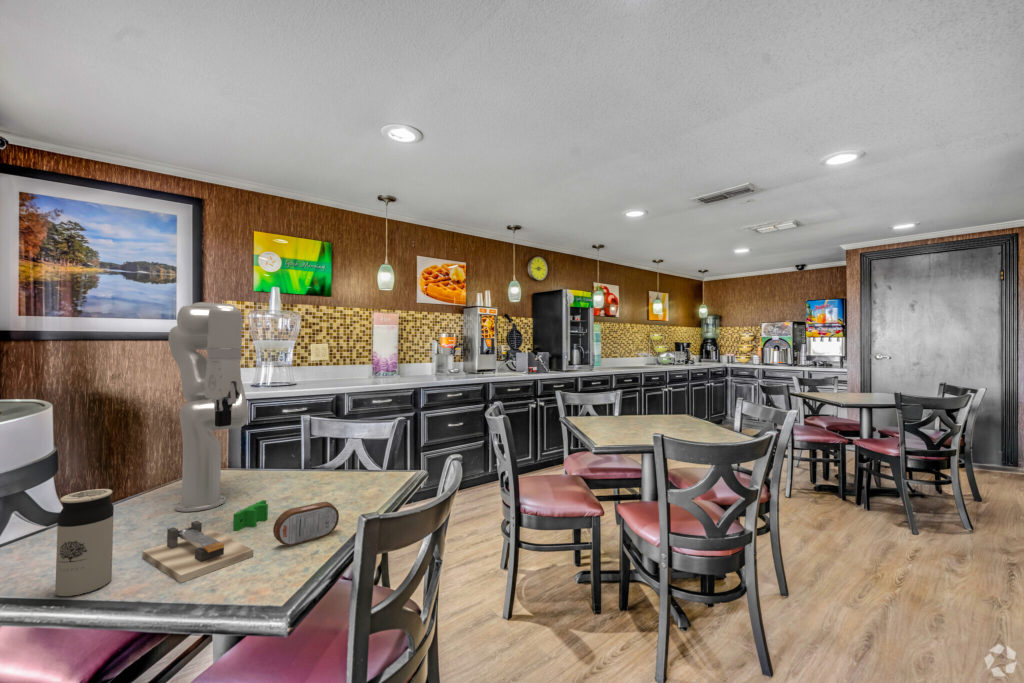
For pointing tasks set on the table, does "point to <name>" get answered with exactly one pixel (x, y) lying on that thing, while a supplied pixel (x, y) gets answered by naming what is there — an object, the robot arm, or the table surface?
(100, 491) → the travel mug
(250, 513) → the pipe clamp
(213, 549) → the hinged lever
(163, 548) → the base plate
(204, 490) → the robot arm
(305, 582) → the table surface
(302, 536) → the tin
